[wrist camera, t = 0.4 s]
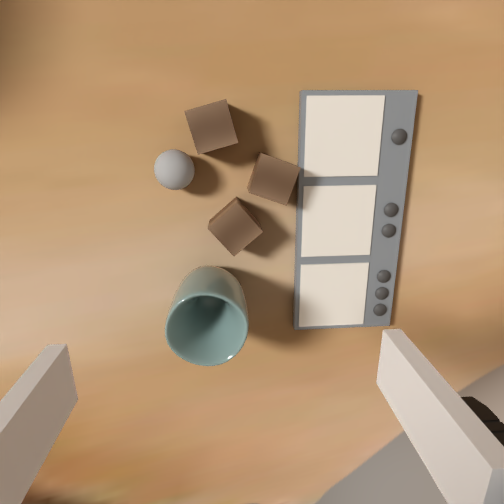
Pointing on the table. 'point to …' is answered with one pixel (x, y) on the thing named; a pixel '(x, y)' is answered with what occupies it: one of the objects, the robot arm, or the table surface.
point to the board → (350, 204)
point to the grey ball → (174, 169)
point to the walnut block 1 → (211, 126)
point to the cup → (207, 317)
